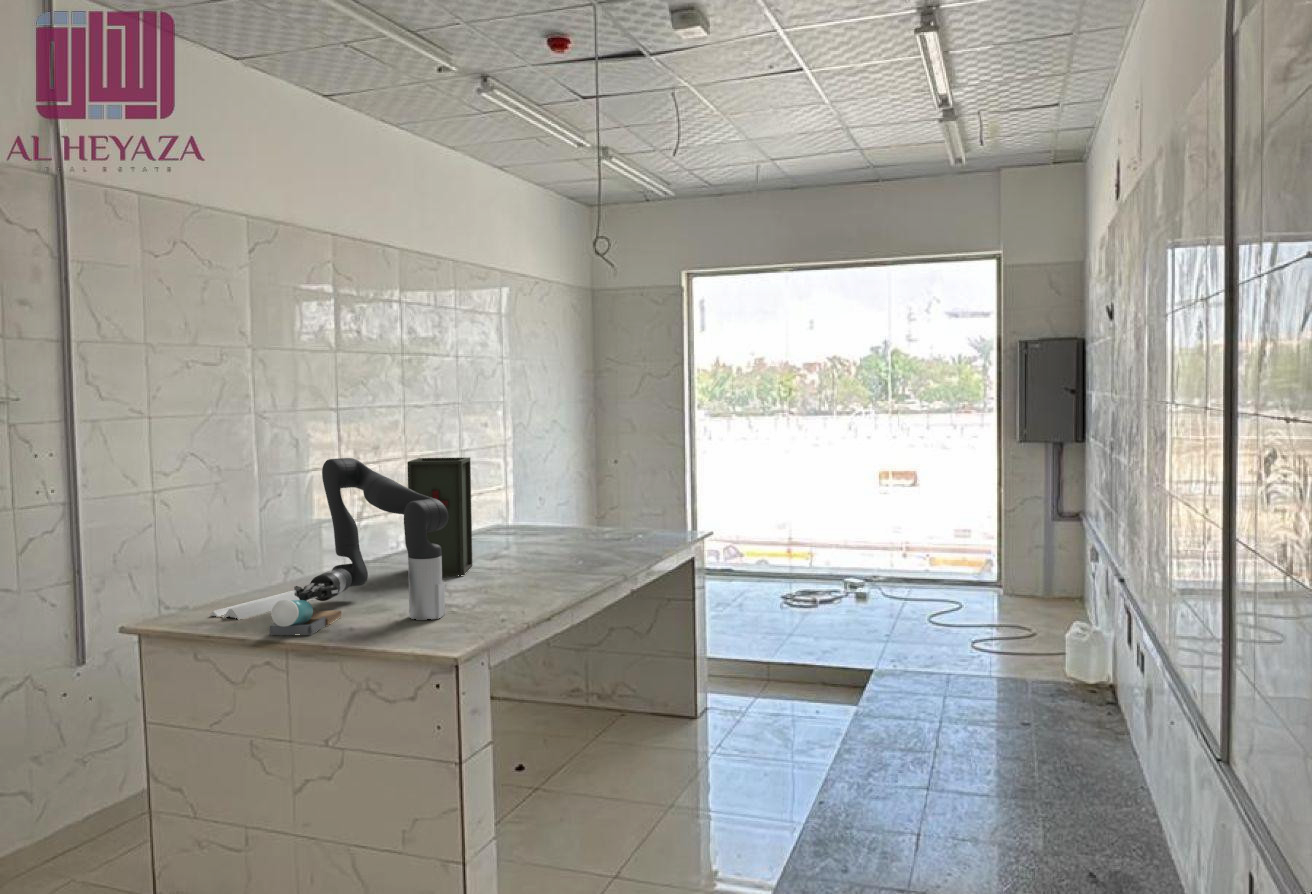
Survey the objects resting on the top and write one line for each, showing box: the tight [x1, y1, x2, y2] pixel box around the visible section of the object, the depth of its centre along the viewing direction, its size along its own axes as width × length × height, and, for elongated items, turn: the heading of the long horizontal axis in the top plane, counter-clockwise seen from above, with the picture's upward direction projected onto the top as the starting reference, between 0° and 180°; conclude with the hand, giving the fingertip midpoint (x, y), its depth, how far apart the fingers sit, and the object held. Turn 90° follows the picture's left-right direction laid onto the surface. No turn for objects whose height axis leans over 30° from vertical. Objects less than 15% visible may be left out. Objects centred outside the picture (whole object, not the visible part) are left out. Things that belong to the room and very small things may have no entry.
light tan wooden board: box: [304, 610, 342, 626], centre depth 263 cm, size 12×10×2 cm
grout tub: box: [270, 600, 314, 626], centre depth 251 cm, size 7×7×11 cm
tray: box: [269, 617, 326, 636], centre depth 254 cm, size 11×10×3 cm
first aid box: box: [407, 457, 473, 577], centre depth 335 cm, size 18×18×40 cm
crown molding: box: [209, 590, 311, 619], centre depth 283 cm, size 31×12×4 cm, turn 156°
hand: (302, 597), depth 257 cm, fingers closed
